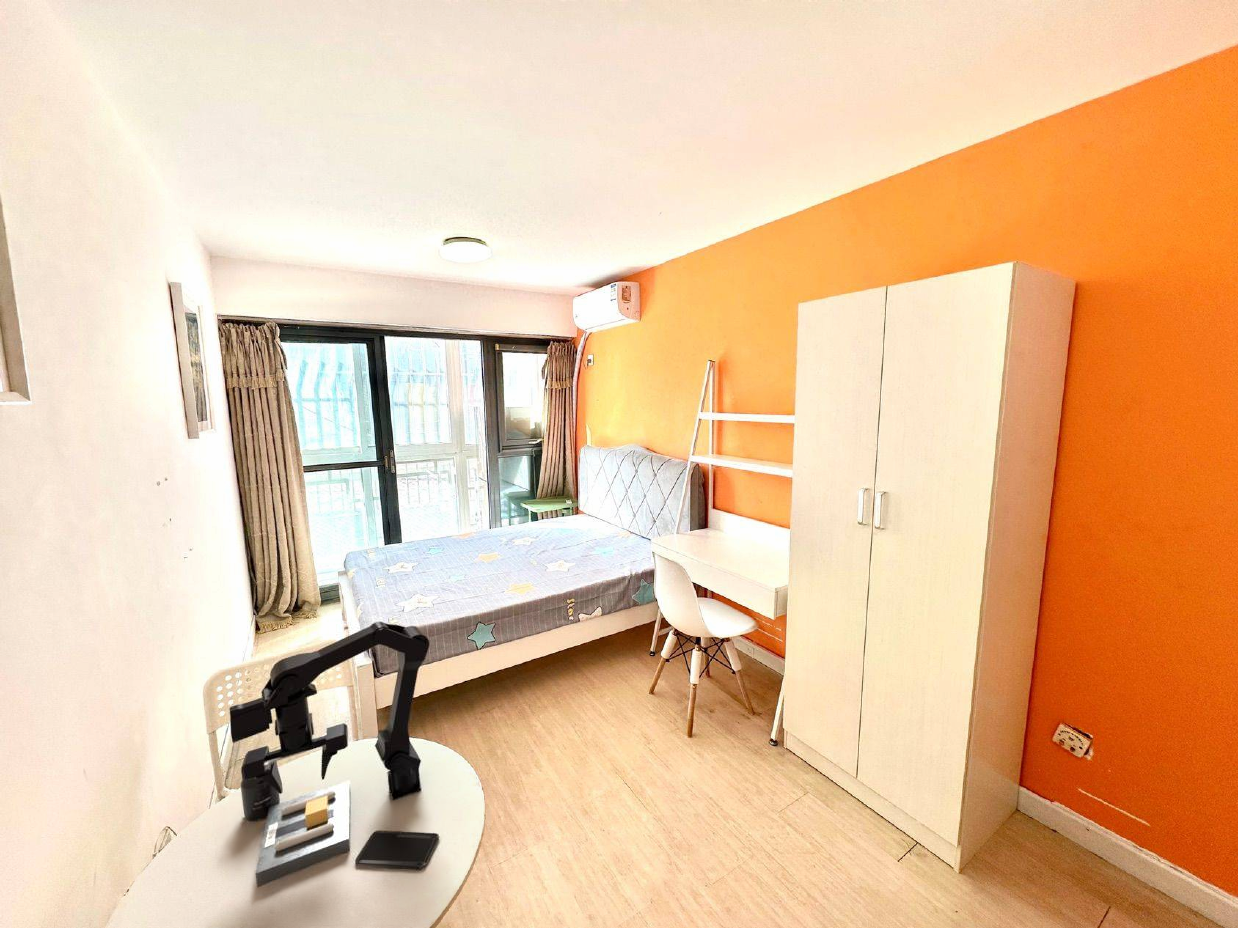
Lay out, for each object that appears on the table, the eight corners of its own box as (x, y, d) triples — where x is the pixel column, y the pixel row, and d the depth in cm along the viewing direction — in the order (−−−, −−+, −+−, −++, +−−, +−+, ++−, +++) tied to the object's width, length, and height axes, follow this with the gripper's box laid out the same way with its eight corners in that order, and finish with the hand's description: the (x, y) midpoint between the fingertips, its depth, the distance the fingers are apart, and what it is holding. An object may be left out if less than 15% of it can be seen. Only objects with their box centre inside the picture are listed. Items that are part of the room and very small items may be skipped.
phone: (423, 867, 100) (352, 862, 101) (424, 872, 100) (353, 867, 101) (440, 832, 107) (374, 829, 109) (441, 837, 108) (375, 833, 109)
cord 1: (334, 826, 107) (333, 819, 107) (334, 831, 106) (333, 825, 105) (275, 847, 102) (274, 841, 102) (274, 854, 101) (273, 847, 101)
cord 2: (336, 794, 116) (335, 787, 116) (335, 798, 114) (335, 792, 114) (281, 812, 111) (280, 806, 111) (280, 817, 110) (279, 811, 109)
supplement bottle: (262, 824, 111) (255, 776, 110) (236, 820, 113) (230, 772, 111) (287, 800, 118) (282, 754, 116) (263, 796, 120) (257, 750, 118)
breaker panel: (350, 791, 120) (349, 780, 120) (350, 850, 105) (348, 837, 104) (270, 818, 113) (269, 806, 112) (257, 886, 97) (255, 873, 97)
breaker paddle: (328, 807, 112) (327, 795, 111) (328, 820, 108) (326, 808, 108) (308, 814, 110) (306, 802, 110) (306, 828, 107) (305, 815, 106)
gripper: (344, 686, 116) (351, 746, 119) (246, 712, 108) (256, 776, 110) (343, 712, 107) (351, 777, 109) (235, 743, 98) (247, 813, 100)
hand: (302, 784), depth 107 cm, fingers open, 7 cm apart
